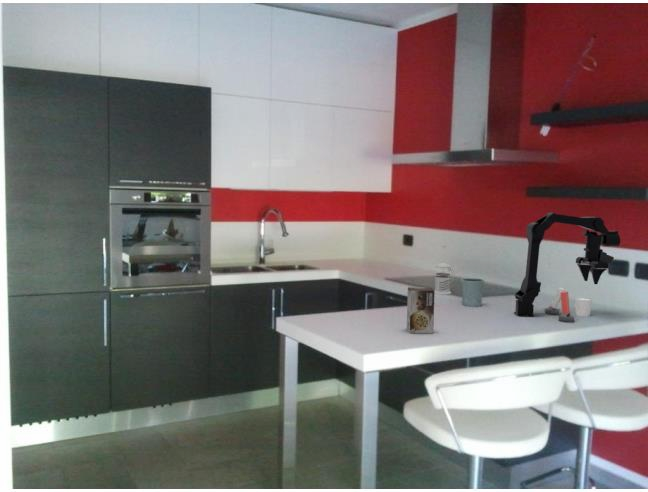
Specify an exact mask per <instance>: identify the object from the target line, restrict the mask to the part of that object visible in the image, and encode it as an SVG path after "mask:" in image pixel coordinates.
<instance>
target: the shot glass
mask: <svg viewBox="0 0 648 492" xmlns="http://www.w3.org/2000/svg"><path fill="white" fill-rule="evenodd" d="M592 303H593V299H590V298H586V297H576V298H574V304H575V305H574V306H575V307H574V309H575V312H574V313H575V316H580V317H590V316H591V309H592Z"/></svg>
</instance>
